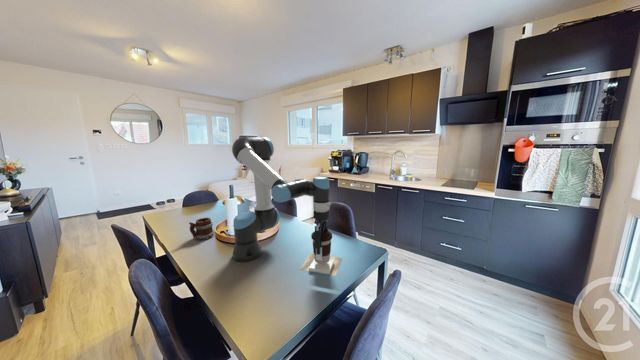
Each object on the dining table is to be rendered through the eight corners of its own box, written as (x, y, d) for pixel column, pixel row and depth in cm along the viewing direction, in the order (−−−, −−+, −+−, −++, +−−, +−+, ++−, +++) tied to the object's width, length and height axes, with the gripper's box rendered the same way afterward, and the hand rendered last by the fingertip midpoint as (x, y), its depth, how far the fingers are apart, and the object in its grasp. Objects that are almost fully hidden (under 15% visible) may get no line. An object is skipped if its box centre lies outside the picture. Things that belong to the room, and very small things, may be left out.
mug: (219, 234, 148) (214, 214, 143) (200, 246, 136) (193, 225, 132) (209, 230, 154) (203, 211, 149) (189, 242, 142) (182, 222, 137)
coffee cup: (330, 267, 100) (330, 236, 97) (309, 264, 102) (309, 234, 99) (333, 255, 110) (333, 227, 107) (314, 254, 112) (313, 226, 109)
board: (299, 271, 105) (299, 269, 105) (310, 255, 120) (310, 253, 120) (335, 278, 100) (335, 275, 99) (342, 260, 115) (342, 258, 114)
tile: (315, 260, 112) (308, 271, 103) (315, 256, 112) (308, 267, 103) (334, 263, 110) (329, 275, 100) (334, 259, 109) (329, 271, 100)
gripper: (322, 218, 90) (323, 268, 94) (334, 204, 110) (334, 245, 114) (305, 216, 92) (306, 265, 96) (320, 203, 113) (320, 243, 117)
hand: (321, 254), depth 105 cm, fingers closed on coffee cup, 9 cm apart
